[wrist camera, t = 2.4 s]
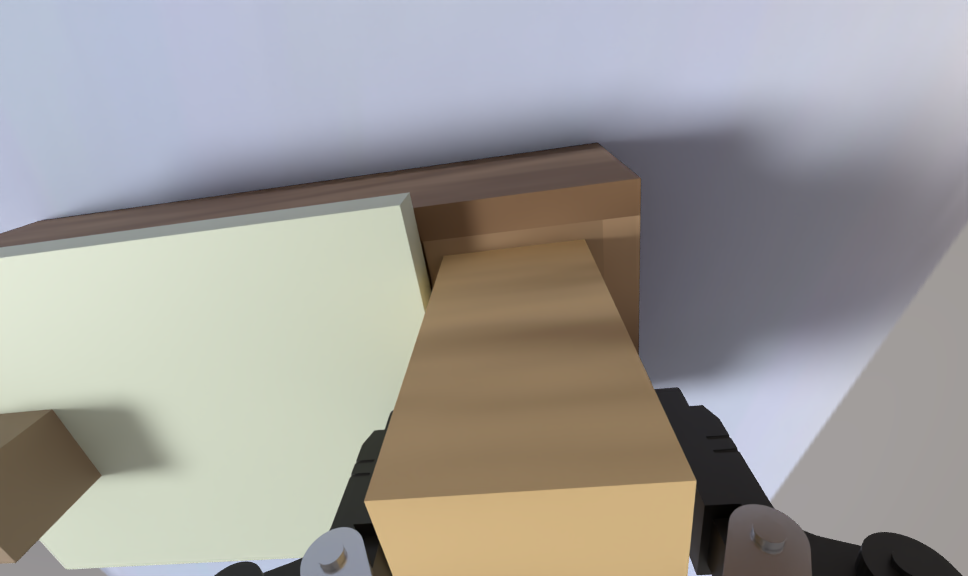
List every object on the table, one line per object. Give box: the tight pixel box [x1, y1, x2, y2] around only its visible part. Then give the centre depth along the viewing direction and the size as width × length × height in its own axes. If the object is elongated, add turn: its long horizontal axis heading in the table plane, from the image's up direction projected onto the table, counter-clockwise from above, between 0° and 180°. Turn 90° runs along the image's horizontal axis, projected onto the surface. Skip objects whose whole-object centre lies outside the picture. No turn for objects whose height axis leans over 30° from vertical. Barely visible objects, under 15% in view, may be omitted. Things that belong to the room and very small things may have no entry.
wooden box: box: [0, 143, 641, 355], centre depth 18 cm, size 12×24×6 cm, turn 98°
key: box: [364, 239, 697, 576], centre depth 11 cm, size 9×4×8 cm, turn 8°
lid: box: [0, 192, 432, 569], centre depth 13 cm, size 13×17×4 cm
